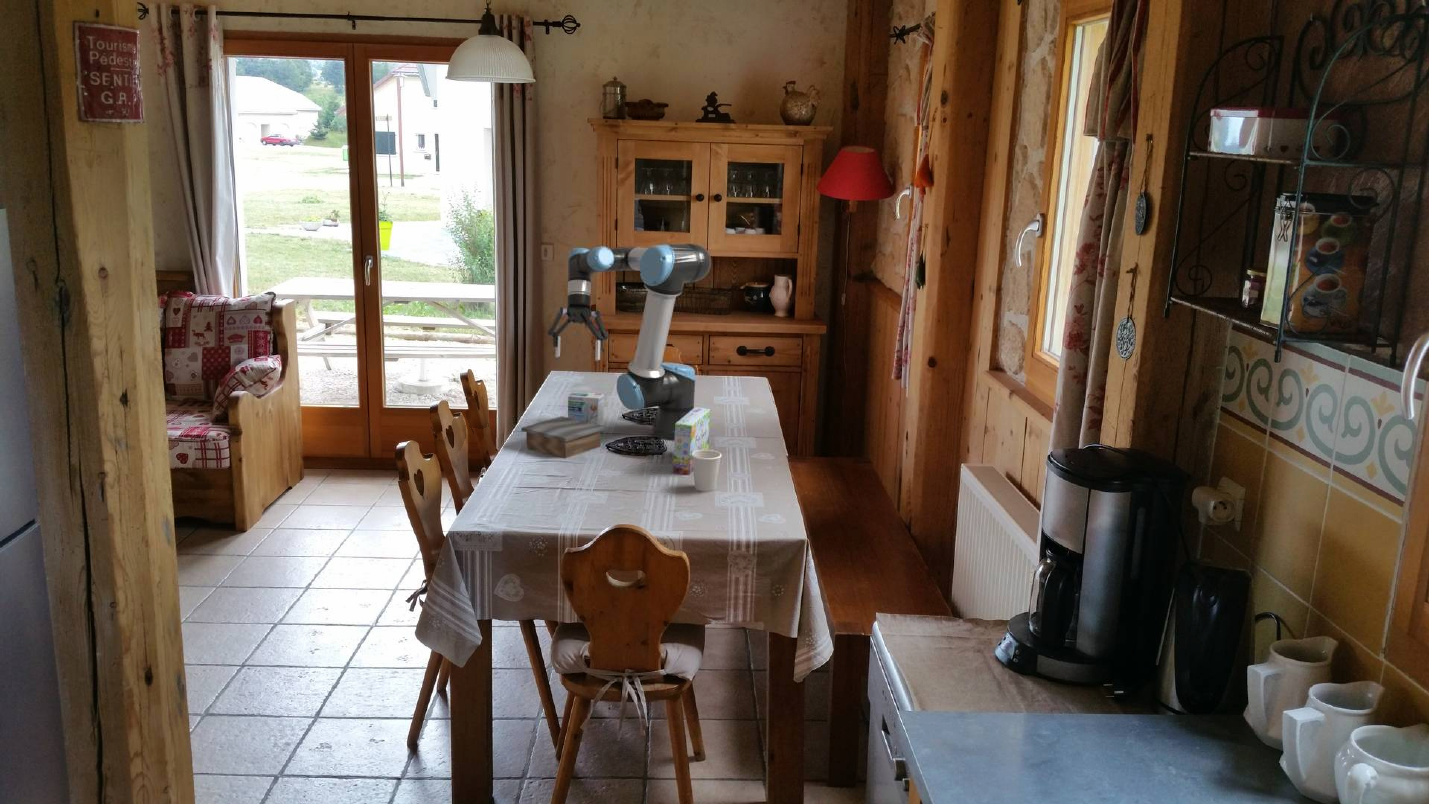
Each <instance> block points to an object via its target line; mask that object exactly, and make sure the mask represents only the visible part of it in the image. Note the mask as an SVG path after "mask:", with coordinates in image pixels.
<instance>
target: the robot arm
mask: <svg viewBox="0 0 1429 804" xmlns="http://www.w3.org/2000/svg"><path fill="white" fill-rule="evenodd" d="M567 263H568V264H567V270H568V271H567V273H568V275H567V280H568V281H567V308H564V307H563V306H560V307H559V308H558V309H557V313H556V316H555V318H554V319H553V321H552V323H551V326H550V327H549V329H548V331H547V335H548V336H551V337H552V347H553V348H555V358H556V359H558V358H560V357H561V339H562V338H561V336H559V335H560V334H561V333H562V332H563V331H564V329H565V328H567V327H568V326H569V324H570V323H571V322H572V323H573V324H580V325H583V324H584V325H585V326H587V328H588V329H589V331H590V332H591V333H592V335H593V336H594V337H595V338H596V341H595V347H594V348H595V350H594V353H595V355H594V356H595V357H594V358H595V360H594V361H595V362H598V361H600V360H601V351H603V350H604V341H606V340H608V339H609V335H608V332H607V330H606V328H605V325H604V323H603V321H602V319H601V313H600V312H601V311H599V310H596V311H592V310H591V299H592V298H591V296H590V295H591V294H592V293H591V292H592V291H591V289H592V287H591V284H592V275H594V274H597V273H604V272H619V271H632V272H633V271H639V272H640V274H639V276H640V278H641V280H642V282H643V283H644V284H643V286H644V288H645V289H646V290H647V293H646V299H645V303H644V304H645V305H644V309H643V313H642V314H643V315H642V319H641V324H640V330H639V334H638V338H637V339H638V340H637V343H636V344H637V345H636V349H635V355H634V359H633V360H632V361H630V362H629V363H628V365H627V370H626V373H622V374H620V375H619V376H618V378H617V380H616V392H617V395H618V398H619V400H620V402H621V404H622V405H623V406H624V407H625V408H626V409H628V410H631V411H635V410H640V411H641V410H644V409H650V408H654V407H658V408H657V413H656V416H655V417H654V420H653V421H654V422H653V425H652V427H651V428H652V430H651V431H652V432H651V434H652V435H653V436H654V437H656V438H660V439H665V440H671V441H672V440H673V441H674V440H675V424H676V423H677V422H678V421H679V420H680V419H682V418H683V417H684V416H685V415H686V414H688V413H689V412H690V411H691V410H692V409H694V408H695V392H696V391H695V390H696V389H695V387H696V370H695V368H693V367H692V366H691V365H687V364H682V363H678V362H677V363H675V362H663V359H664V354H665V350H666V346H667V340H668V336H669V331H670V326H671V322H672V317H673V311H674V307H675V303H676V297H679V296H680V295H681V294H682V293H683V289H684V284H687V283H688V284H689V283H696V282H698V281H701V280H703V279H704V278H705V277H706V276H708V274H709V272H710V271H711V267H712V258H711V255H710V252H708V250H707V248H705V247H704V246H702V245H700V244H696V243H676V244H666V243H663V244H658V245H652V246H650V247H640V246H629V247H628V246H627V247H626V246H625V247H607V246H604V245H603V246H602V245H601V246H598V247H597V246H596V247H594V248H591V249H588V248H585V247H575V248H571V249H570V250H569V251H568V260H567ZM565 313H566V316H567V317H568V318H567V319H566V320H564V322H563V323H562V324H561V325H560V326H559V328H558V329H556V328H557V326H558V325H559V322H560V321H561V318H562V317H563V315H565ZM591 317H592V318H593V319H594V322H595V324H596V326H597V327H596V326H595V324H594V323H593V321H592V319H591Z"/></svg>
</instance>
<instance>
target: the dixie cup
mask: <svg viewBox="0 0 1429 804" xmlns="http://www.w3.org/2000/svg"><path fill="white" fill-rule="evenodd" d="M691 456H692V461H693V471H692V472H693V479H694V489H695V490H696V491H699V492H703V493H707V492H708V493H709V492H714V491H715V490H716V487H717V482H718V481H717V480H718V476H719V474H718V473H719V468H720V463H721V458H722V453H721V452H719V451H716V450H712V449H708V450H697V451H694V452H692V454H691Z"/></svg>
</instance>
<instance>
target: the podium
mask: <svg viewBox="0 0 1429 804" xmlns="http://www.w3.org/2000/svg"><path fill="white" fill-rule="evenodd" d="M604 430H606V426H605V425H603V426H602V425H598V424H593V423H589V422H585V421H580V420H576V419H572V418H568V416H561V415H560V416H557V417H554V418H551V419H547V420H543V421H541V422H537V423H534V424H533V423H532V424H530V425H526V426H522V427H521V432H525V433H526V434H525V435H526V438H525V439H526V443H525V444H526V447H525V448H526V449H529V450H534V451H538V452H541V453H545V454H549V455H552V456H556V457H560V458H563V457H564V459H567V458H570V457H573V456H576V455H579V454H582V452H583V453H585V452H588V451H591V449H592V450H594V449H598V448H600V447H601V440H602V439H601V437H602V435H601V432H602V431H604Z"/></svg>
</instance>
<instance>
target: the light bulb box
mask: <svg viewBox="0 0 1429 804" xmlns="http://www.w3.org/2000/svg"><path fill="white" fill-rule="evenodd" d="M567 397H568V398H567V418H572V419H576V420H580V421H585V422H589V423H593V424H598V425H602V426H604V413H605V412H604V410H605V407H604V406H605V403H604V402H605V394H604V393H595V392H582V391H573V392H571V393H570V394H569V395H568V396H567Z"/></svg>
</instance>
